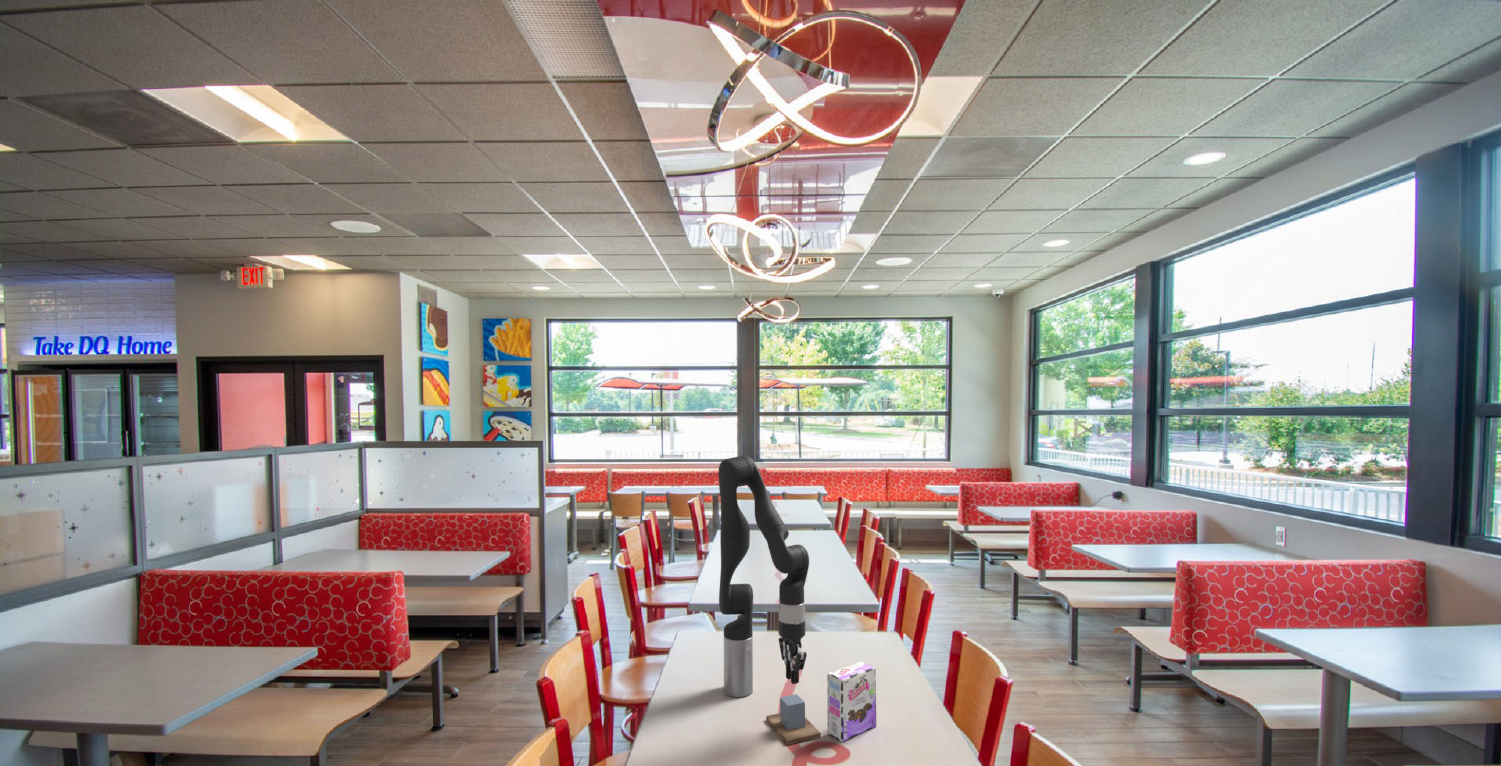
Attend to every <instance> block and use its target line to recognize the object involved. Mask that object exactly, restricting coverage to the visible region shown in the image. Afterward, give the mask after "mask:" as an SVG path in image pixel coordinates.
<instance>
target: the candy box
mask: <svg viewBox="0 0 1501 766" xmlns="http://www.w3.org/2000/svg"><path fill="white" fill-rule="evenodd" d="M876 681H877V679H876V667H875V666H873V665H870V664H868V663H865V662H863V661H859V662H857V663H854V664H851V665H848V666H844V667H842V668H840V669H839V668H838V669H837V670H834V671H831V672H827V734H829V735H830V736H832V737H833V738H835V739H836V740H838V741H840V742H841V743H843V742H845V741H848V740H850V739H852V738H854V737H856V736H859V735H861V734H863V733H866V732H867V731H870V730H872V729H874V728H877V689H876V688H877V686H876V685H877V684H876Z"/></svg>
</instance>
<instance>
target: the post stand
mask: <svg viewBox="0 0 1501 766" xmlns="http://www.w3.org/2000/svg"><path fill="white" fill-rule="evenodd" d="M765 719H766V720H765V721H767V723H768V724H769V725H770V726H771V728H772V729H773V730H774V731H775V732H776V734H778V736H779V737H780V738H781V739H782V740H783V742H784V743H785V745H787V746H790V745H794V744H799V743H803V742H807V741H811V740H817V739H821V737H822V736H821V735H822V733H821V732H820V730H818V729H817V727H816V726H815V725H814V724H812V722H811V721H810V720H809V719H808V718H807V717H806V716H805V727H802V728H797V729H793V730H789V731H788V730H787V729H786V727H785V726H784V725H783V724H782V723H781V722H780V712H778V713H774V714H769V715H766V718H765ZM816 738H817V739H816Z"/></svg>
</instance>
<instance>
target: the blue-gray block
mask: <svg viewBox="0 0 1501 766" xmlns="http://www.w3.org/2000/svg"><path fill="white" fill-rule="evenodd" d="M779 713H780V722H781V723H782V724H783V725H784V726H785V727H786V729H787V730H788V731H789V730H793V729H797V728H802V727H805V717H806V702H805V701H804V700H803V699H802V698H801V696H799V695H798V694H797V693H795V694H790V695H785V696H781V697H779Z"/></svg>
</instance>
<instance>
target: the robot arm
mask: <svg viewBox="0 0 1501 766" xmlns="http://www.w3.org/2000/svg"><path fill="white" fill-rule="evenodd" d="M718 466H719V467H718V487H719V489H718V490H719V497H720V498H719V500H720V532H719V533H720V537H719V538H720V543H719V544H720V576H719V580H720V581H719V590H718V591H719V592H718V606H719V611H720V613H721V614H722V615H724V616H726V615H727V616H731V615H734V616H737V615H740V616H739V617H738V618H737V619H735V620H733V621H731V622H729V623H726V624H725V626H724V627H723V692H724V694H725V695H726V696H729V697H732V698H743V697H747V696H749V695H751V694H752V693H753V692H754V689H753V688H754V682H753V679H754V675H753V674H754V671H753V669H754V666H753V663H754V662H753V661H754V660H753V659H754V655H753V654H754V651H753V650H754V649H753V646H754V645H753V644H754V643H753V642H754V641H753V635H754V634H753V613H754V612H753V611H754V589H753V587H752V585H751V584H750V583H731V581H732V578H733V576H734V574H735V571H737V570H736V569H737V568H738V567H739V566H740V564H741V562H742V561H743V560H744V558H745V557H746V555H747V553H748V551H749V549H750V543H751V542H750V539H751V531H750V530H751V529H750V524H749V521H748V519H747V518H746V516H745V515H744V513H743V511H742V510H741V508H740V507H739V503H738V497H737V495H738V493H737V492H738V488H740V487H744V486H747V487H748V488H749V490H750V492H751V493H752V496H753V500H754V519H755V523H756V525H757V527H758V528H759V530H760V532H761V534H762V536H763V537H764V539H765V541H766V544H767V547H768V550H769V551H768V552H769V553H770V559H771V560H772V563H773V564H772V565H773V566H774V567H775V568H776V570H777V571H778V572H780V573H781V574H785V575H787V576H786V577H785V578H784V579H782V580H781V581H780V583H779V591H778V593H779V596H778V597H779V598H778V601H779V605H778V635H779V636H780V637H778V644H779V649H780V651H779V652H780V654H781V656H780V657H781V660H782V661H784V662H783V663H784V665H785V678H786V679H787V680H790V683H791V684H792V685H796V684H799V682H800V671H803V670H804V668H805V664H806V659H807V651H803V650H802V648H803V647H802V646H803V645H802V639H803V638H804V637H805V636H806V606H805V584H806V581H807V577H808V571H809V568H810V555H809V552H808V550H807V549H806V547H805V546H804V545H802V544H792V545H788V546H787V544H786V542H785V541H786V540H787V539H788V537H789V534H790V533H789V529H788V527H787V526H786V524H785V523H784V521H783V519H782V517H781V515H780V514H779V512H778V511H777V509H776V508H775V505H774V503H773V501H772V498H771V497H770V494H769V492H768V490H767V487H766V484H765V482H764V479H763V477H762V475H761V472H760V470H759V468H758V466H757V464H756V462H755V461H754V459H753V458H752V457H751V456H749V455H740V456H735V457H728V458H725V459H722V460H721V462H720V463H719V465H718Z"/></svg>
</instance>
